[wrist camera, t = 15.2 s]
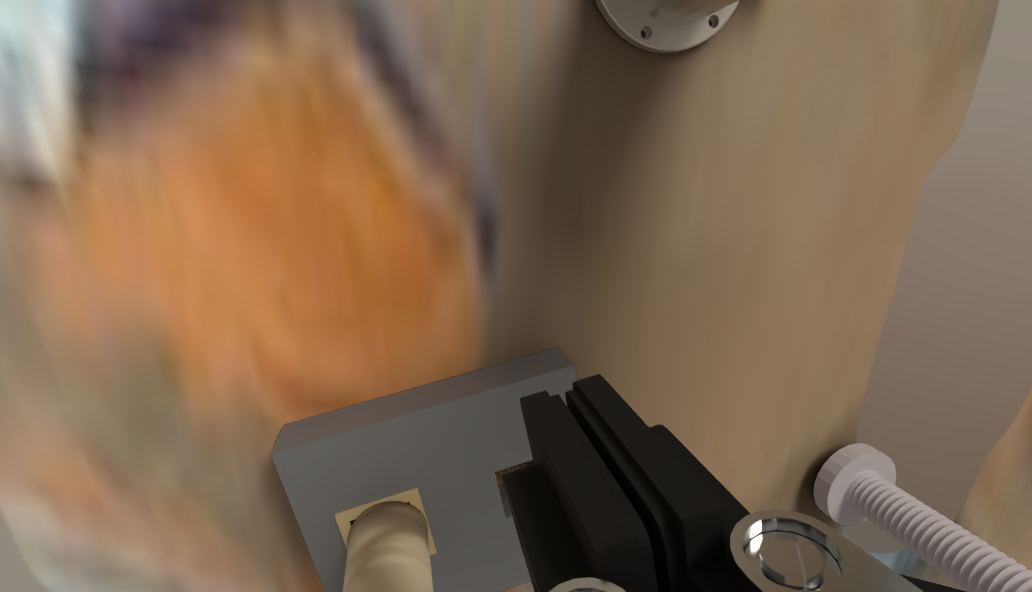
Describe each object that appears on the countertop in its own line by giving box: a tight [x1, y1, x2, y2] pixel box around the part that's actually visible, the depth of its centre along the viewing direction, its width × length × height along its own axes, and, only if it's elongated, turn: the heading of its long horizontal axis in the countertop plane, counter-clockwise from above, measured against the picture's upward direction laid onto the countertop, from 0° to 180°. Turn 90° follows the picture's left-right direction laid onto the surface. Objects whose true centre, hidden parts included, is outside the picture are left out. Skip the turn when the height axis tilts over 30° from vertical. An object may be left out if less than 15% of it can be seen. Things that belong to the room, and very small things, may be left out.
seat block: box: [271, 347, 577, 592], centre depth 39 cm, size 22×18×4 cm
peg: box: [343, 501, 433, 592], centre depth 35 cm, size 6×6×10 cm
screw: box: [814, 443, 1032, 592], centre depth 43 cm, size 8×8×20 cm
